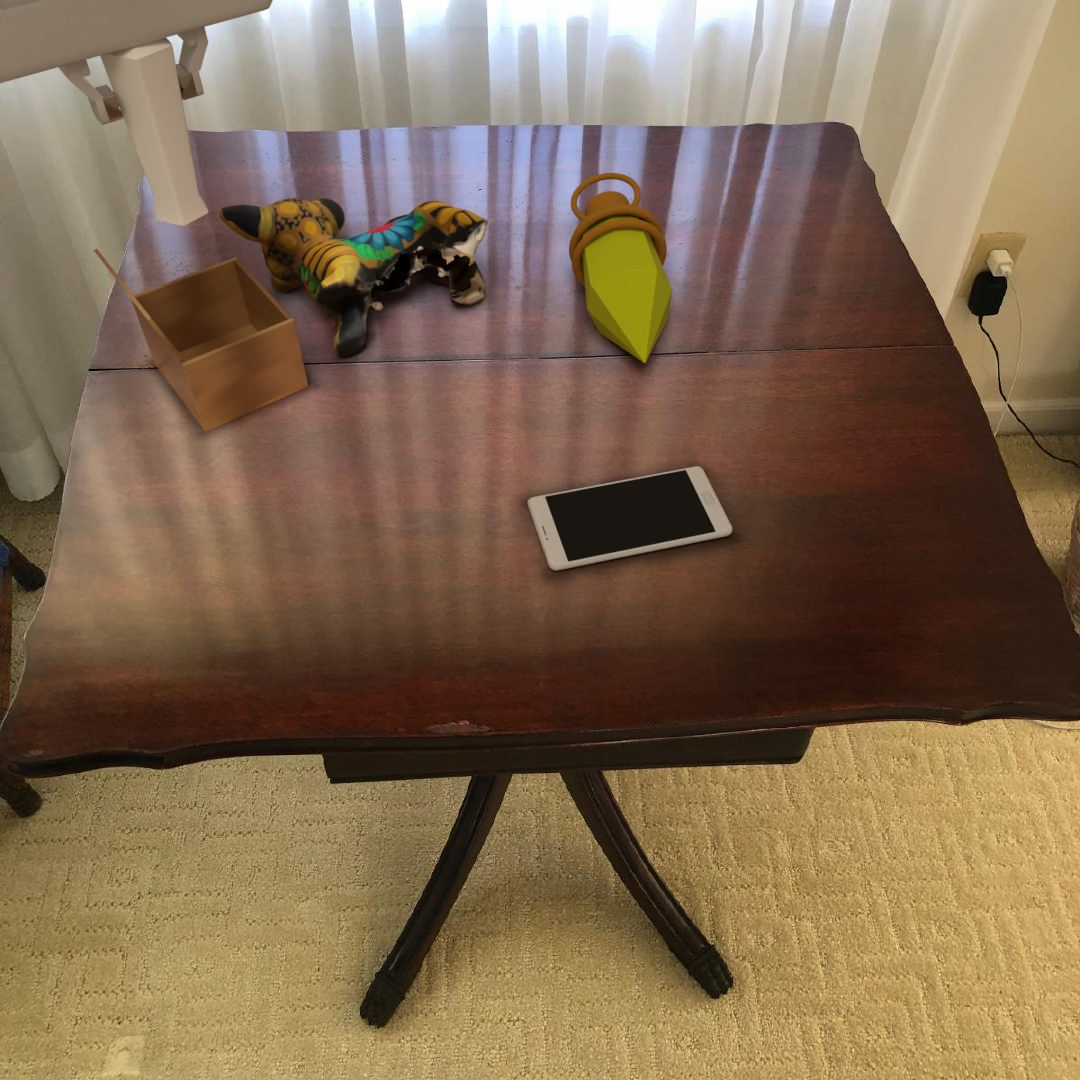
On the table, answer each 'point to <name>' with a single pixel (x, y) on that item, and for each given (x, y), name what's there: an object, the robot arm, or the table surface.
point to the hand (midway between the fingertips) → (150, 106)
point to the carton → (222, 342)
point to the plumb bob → (621, 267)
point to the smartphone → (627, 517)
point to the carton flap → (138, 305)
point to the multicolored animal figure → (362, 256)
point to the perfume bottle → (157, 126)
